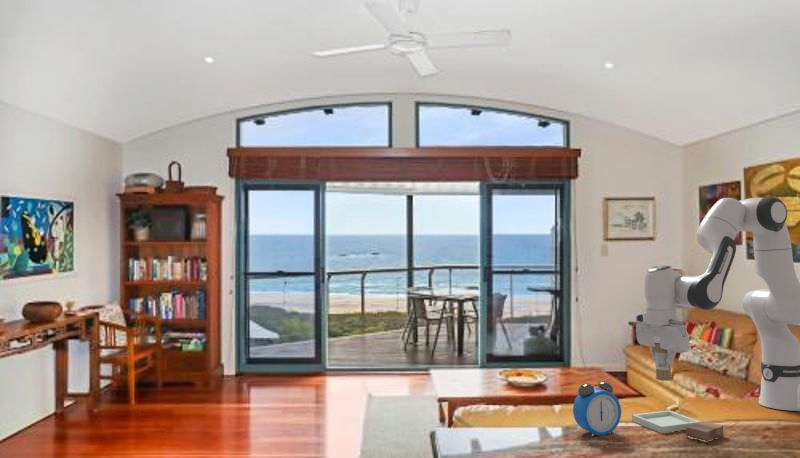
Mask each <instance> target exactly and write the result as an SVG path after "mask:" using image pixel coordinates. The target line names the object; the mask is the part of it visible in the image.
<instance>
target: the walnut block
mask: <svg viewBox="0 0 800 458" xmlns="http://www.w3.org/2000/svg"><path fill="white" fill-rule="evenodd" d="M685 434H686V435H685V436H690V437H693V438H697V439H701V440H705V441H709V440H712V439H716V438H718V439H720V438H719V437H721V438H722V437H724V426H723V425H722V424H721V425H720V424H717V423H711V422H707V421H704V420H703V421H700V422H699V423H697V424H694V425H691V426H688V427H686V431H685ZM716 440H717V439H716Z"/></svg>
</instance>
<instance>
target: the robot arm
mask: <svg viewBox="0 0 800 458" xmlns="http://www.w3.org/2000/svg"><path fill="white" fill-rule="evenodd" d="M787 218H788V209H787V207H786V205H785V203H784V202H783V201H782V200H781V199H780V198H778V197H773V196H766V197H750V198H746V199H745V198H744V199H741V200H737V199H736V198H733V197H723V198H720V199H719V200H718V201H716V203H714V204H713V206H712V207H711V208H709V210H708V211H707V213H706V214H705V216H704V217H703V219H702V221H701V222H700V224H699V225H698V228H697V230H696V233H695V237H696V241H697V243H698V244H699V245H700V246H701V247H702V248H703V249H704V250H705V251H707V253H710V254H712V255H711V258H710V261H709V263H708V267H707V269H706V271H705V272H704V273H702V274H700V275H696V276H695V275H694V276H693V275H683V274H682V273H678V272H677V271H675V270H674V269H673V268H672V266H670V265H657V266H656V265H655V266H652V267H650V268H648V269H647V270H646V271H645V276H644V297H645V301H646V303H645V311H644V312H642V313H639V314H635V321H636V325H635V326H636V327H635V329H636V330H635V331H636V341H637V343H638V344H639V345H643V346H647V347H649V350H650V353H651V356H652V361H653V362H655V342H654V336H656V337H660V348H661V349H665V350H667V354H668V357H667V358H666V359H665V361H666V362H665V363H666V364H668V365H671V366H673V365H674V362H675V361H674V359H675V357H676V354H677V353H679V354H680V353H688V352H689V350H690V347H691V346H690V340H689V339H690V337H689V334H688V333H689V332H688V331H687V327H686V325H685V323H683V321H681V320H677V319H678V318H677V307H676V306H682V307H687V308H695V309H700V310H704V311H710V310H712V309H714V308H716V307H717V306H718V304H720V303H721V300H722V299H723V293H724V286H725V283H726V281H727V278H728V275H729V271H730V269H731V267H732V264H733V261H734V259H735V257H736V256H735V255H736V251H737V244H736V242H735V239H736V237H737V234H738V233H739V232H743V233H744V232H748V233H749V232H752V235H753V237H752V238H753V244H752V245H753V252H754V253H753V255H754V256H753V257H754V265H755V272H756V274H757V275H758V276H759V277H760V278H761V279H762V280H763V281H764V282H765V284H766V286H767V287H768V288H760V289H754V290H750V291H748V292H747V293H746V294H745V295H744V297H743V300H742V308H743V310H744V312H745V313H746V314H747V315H748V316H749V318H750V319H751V320H752V322H753V323H754V325H755V327H756V330H757V333H758V336H759V340H760V348H761V349H760V351H761V362H760V371H761V374H762V376H761V378H760V379H761V382H760V395H759V396H758V404H759V405H761V406H763V407H766V408H768V409H769V408H771V409H775V410H780V411H792V412H793V411H795V412H800V341H799V339H798V338H797V336H795V335H794V334H793V333H792V332H791V331H790V328H789V327H788V326H789V325H800V280H799V279H798V277H797V274H796V270H795V263H794V258H793V249H792V248H793V247H792V241H791V236H790V232H789V229H788V226H787V223H786V221H787Z"/></svg>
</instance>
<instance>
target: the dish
mask: <svg viewBox="0 0 800 458" xmlns="http://www.w3.org/2000/svg"><path fill="white" fill-rule="evenodd" d="M631 422H633V423H635V424H637V425H640V426H642V427H645V428H648V429H650V430H652V431H655V432H657V433H659V434H669V433H670V432H671V433H674V432H673V431H678V432H681V431H680V430H686V427H688V426H691V425H694V424H697V423H699V422H701V421H700V420H698V419H695V418H691V417H690V416H686V415H683V414H681V413H677V412H675V411H673V410H661V411H651V412H643V413H642V412H641V413H634V414H631Z"/></svg>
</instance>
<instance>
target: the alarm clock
mask: <svg viewBox="0 0 800 458" xmlns="http://www.w3.org/2000/svg"><path fill="white" fill-rule="evenodd" d="M614 391H615V390H614V387H613V385H612V384H610V383H609V381H607V382H606V381H601V382H599V383H597V384H594V385H592V384H590V383H582V384H580V386H579V387H578V389H577V393H578V394H577V396H576V397H575V399H574V403H573V408H572V413H573V418H574V421H575V422H576V424H577V425H578V426H579V427H580V428H581V429H583V430H585V431H587V432H589V433H590V434H591V435H592V434H594V435H595V434H596V436H606V435H609V434H611V435H612V434H613V431H614V430H616V428H617V427H618V425H619V423H620V421H621V418H622V407H621V403H620V401H619V399H618V398H617V397H616V395H615V394H614Z"/></svg>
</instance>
